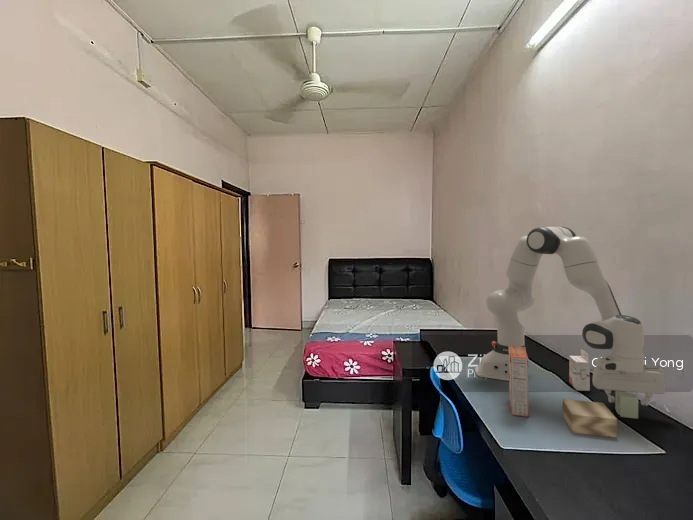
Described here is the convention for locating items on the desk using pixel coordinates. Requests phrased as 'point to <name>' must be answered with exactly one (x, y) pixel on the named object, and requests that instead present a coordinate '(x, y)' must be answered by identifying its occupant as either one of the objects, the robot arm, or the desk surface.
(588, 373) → the ink cartridge box
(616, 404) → the sage block
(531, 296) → the robot arm
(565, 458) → the desk surface
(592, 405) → the ash plinth
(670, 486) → the desk surface
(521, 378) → the cracker box
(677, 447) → the desk surface
